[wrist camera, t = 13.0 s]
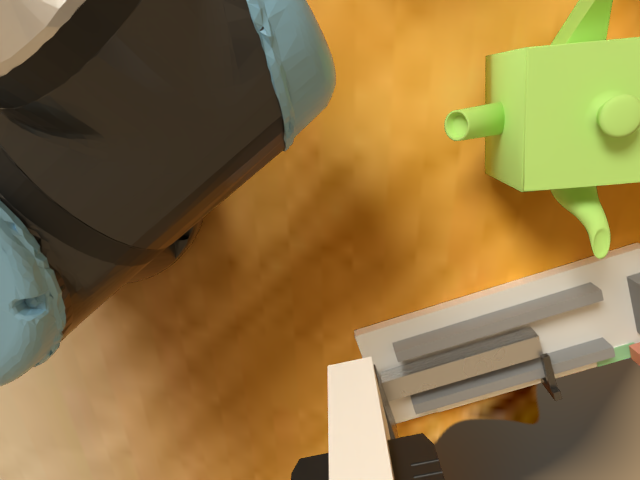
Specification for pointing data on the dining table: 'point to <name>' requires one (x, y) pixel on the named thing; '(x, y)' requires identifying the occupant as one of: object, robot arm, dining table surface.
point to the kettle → (563, 116)
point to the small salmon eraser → (635, 352)
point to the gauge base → (512, 315)
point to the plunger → (463, 368)
